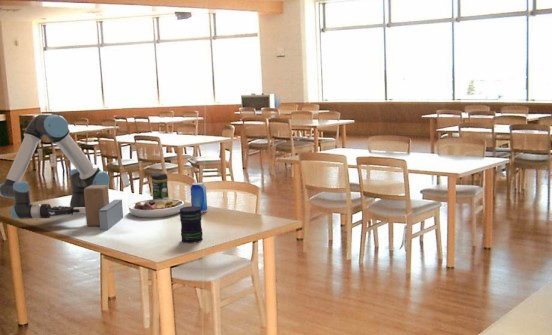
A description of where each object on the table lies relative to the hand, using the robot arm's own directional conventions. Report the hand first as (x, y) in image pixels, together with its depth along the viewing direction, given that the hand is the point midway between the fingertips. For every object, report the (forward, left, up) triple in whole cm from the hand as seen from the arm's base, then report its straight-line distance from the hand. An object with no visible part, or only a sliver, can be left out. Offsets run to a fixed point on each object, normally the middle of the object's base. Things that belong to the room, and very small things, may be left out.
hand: (86, 210), depth 341 cm
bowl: (-29, +26, -8) cm, 40 cm away
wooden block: (-1, +6, -8) cm, 10 cm away
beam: (-2, +13, -8) cm, 15 cm away
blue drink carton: (-32, +50, -8) cm, 60 cm away
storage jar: (+25, +67, -8) cm, 72 cm away
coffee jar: (-51, +19, -8) cm, 56 cm away
